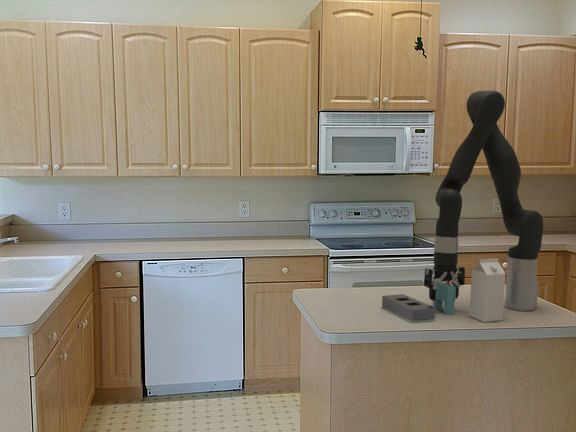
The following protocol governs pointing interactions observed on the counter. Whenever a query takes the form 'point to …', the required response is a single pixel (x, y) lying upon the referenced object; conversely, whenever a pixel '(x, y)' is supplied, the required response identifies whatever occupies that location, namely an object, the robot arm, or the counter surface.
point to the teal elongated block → (445, 298)
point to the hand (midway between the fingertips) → (443, 299)
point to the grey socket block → (408, 308)
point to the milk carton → (487, 291)
